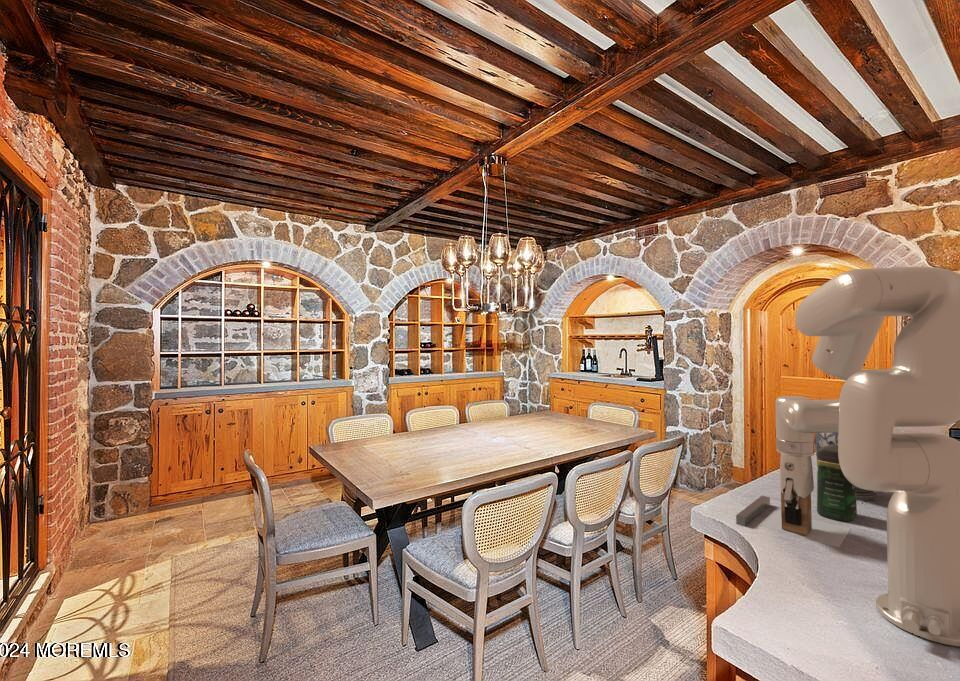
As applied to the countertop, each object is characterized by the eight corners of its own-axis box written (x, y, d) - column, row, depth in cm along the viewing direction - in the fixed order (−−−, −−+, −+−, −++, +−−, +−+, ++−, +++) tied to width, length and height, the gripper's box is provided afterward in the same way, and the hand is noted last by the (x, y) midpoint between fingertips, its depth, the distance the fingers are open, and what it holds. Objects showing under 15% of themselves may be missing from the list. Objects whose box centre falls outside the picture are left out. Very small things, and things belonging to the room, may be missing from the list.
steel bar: (745, 527, 109) (744, 517, 109) (736, 525, 111) (736, 515, 111) (770, 506, 123) (769, 497, 123) (762, 504, 124) (761, 495, 124)
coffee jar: (852, 525, 109) (851, 452, 109) (813, 516, 115) (812, 446, 115) (860, 515, 115) (859, 445, 115) (823, 506, 121) (822, 440, 121)
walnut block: (806, 535, 103) (805, 493, 103) (781, 528, 107) (780, 488, 107) (811, 529, 107) (810, 488, 107) (787, 523, 110) (786, 483, 110)
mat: (838, 548, 98) (838, 547, 98) (758, 526, 110) (758, 525, 110) (850, 529, 107) (850, 528, 107) (775, 511, 119) (775, 510, 119)
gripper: (804, 455, 99) (806, 536, 98) (821, 443, 110) (823, 515, 110) (766, 450, 104) (767, 526, 104) (786, 438, 115) (788, 507, 115)
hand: (796, 519), depth 107 cm, fingers closed on walnut block, 5 cm apart
